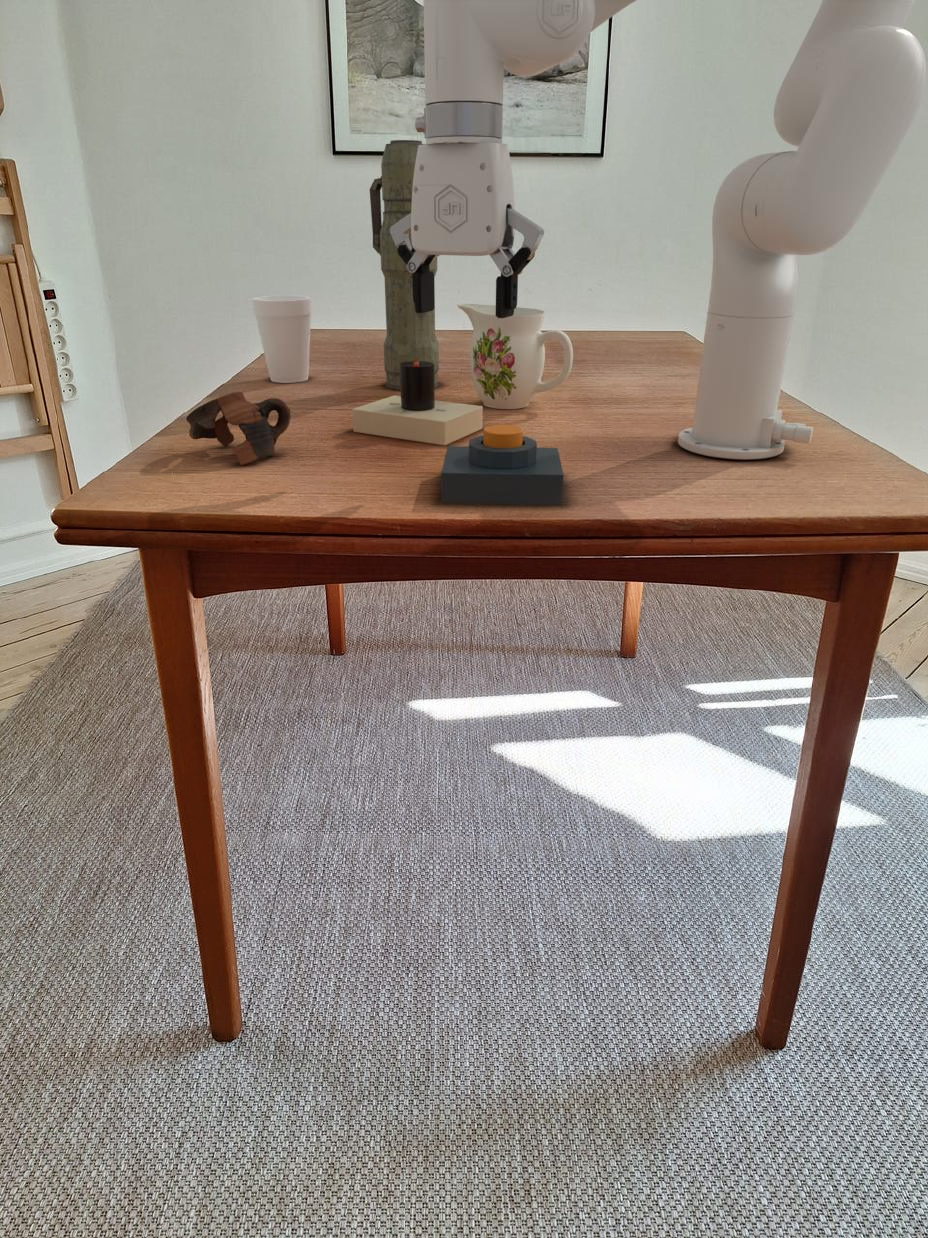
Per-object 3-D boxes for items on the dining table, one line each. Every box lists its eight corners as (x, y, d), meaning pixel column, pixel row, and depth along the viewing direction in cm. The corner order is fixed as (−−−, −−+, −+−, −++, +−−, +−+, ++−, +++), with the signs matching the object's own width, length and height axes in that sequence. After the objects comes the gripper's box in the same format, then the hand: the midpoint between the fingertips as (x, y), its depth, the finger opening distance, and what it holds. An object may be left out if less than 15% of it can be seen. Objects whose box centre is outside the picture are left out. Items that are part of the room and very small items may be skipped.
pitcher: (556, 418, 114) (562, 314, 107) (441, 406, 120) (441, 307, 114) (580, 403, 123) (587, 306, 116) (472, 392, 129) (473, 300, 123)
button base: (556, 476, 90) (558, 431, 87) (561, 505, 81) (564, 456, 78) (447, 474, 90) (447, 429, 88) (441, 503, 81) (441, 454, 79)
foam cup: (311, 384, 135) (304, 301, 129) (255, 384, 135) (246, 301, 129) (321, 374, 143) (315, 295, 137) (268, 373, 143) (260, 295, 137)
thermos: (387, 378, 140) (378, 143, 124) (453, 382, 137) (452, 142, 121) (368, 388, 132) (356, 139, 116) (438, 392, 129) (435, 138, 113)
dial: (402, 403, 108) (400, 358, 106) (435, 403, 108) (434, 358, 106) (399, 410, 104) (398, 364, 102) (434, 410, 104) (433, 364, 102)
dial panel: (482, 428, 109) (482, 404, 107) (444, 445, 101) (444, 420, 99) (395, 416, 115) (394, 393, 113) (353, 431, 107) (351, 407, 105)
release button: (521, 441, 85) (522, 424, 84) (522, 451, 81) (523, 434, 81) (483, 440, 85) (483, 424, 84) (482, 451, 82) (483, 433, 81)
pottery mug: (220, 476, 91) (183, 408, 89) (209, 490, 99) (175, 429, 98) (313, 434, 95) (279, 368, 94) (295, 451, 104) (263, 391, 102)
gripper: (368, 128, 80) (377, 313, 88) (530, 121, 73) (523, 323, 81) (408, 134, 86) (412, 306, 94) (561, 127, 79) (552, 315, 86)
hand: (464, 314), depth 87 cm, fingers open, 9 cm apart
